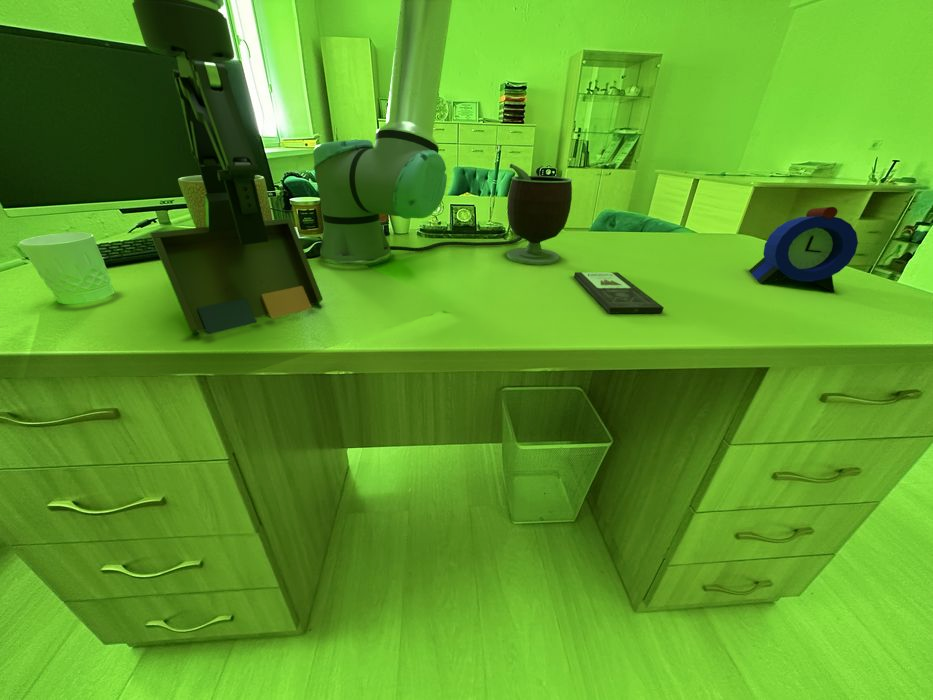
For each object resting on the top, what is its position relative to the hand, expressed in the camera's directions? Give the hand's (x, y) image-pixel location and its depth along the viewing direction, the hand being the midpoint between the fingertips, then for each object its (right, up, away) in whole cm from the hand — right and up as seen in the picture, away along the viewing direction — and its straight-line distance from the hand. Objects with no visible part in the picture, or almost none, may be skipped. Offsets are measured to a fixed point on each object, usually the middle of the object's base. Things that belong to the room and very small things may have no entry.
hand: (239, 231), depth 46 cm
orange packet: (+1, -8, +10) cm, 13 cm away
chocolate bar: (+56, -4, +22) cm, 60 cm away
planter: (-27, +11, +45) cm, 54 cm away
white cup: (-33, -7, +14) cm, 36 cm away
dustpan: (-5, -4, +8) cm, 11 cm away
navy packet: (-5, -10, +6) cm, 13 cm away
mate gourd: (+44, +7, +42) cm, 61 cm away
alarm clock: (+96, 0, +31) cm, 101 cm away
